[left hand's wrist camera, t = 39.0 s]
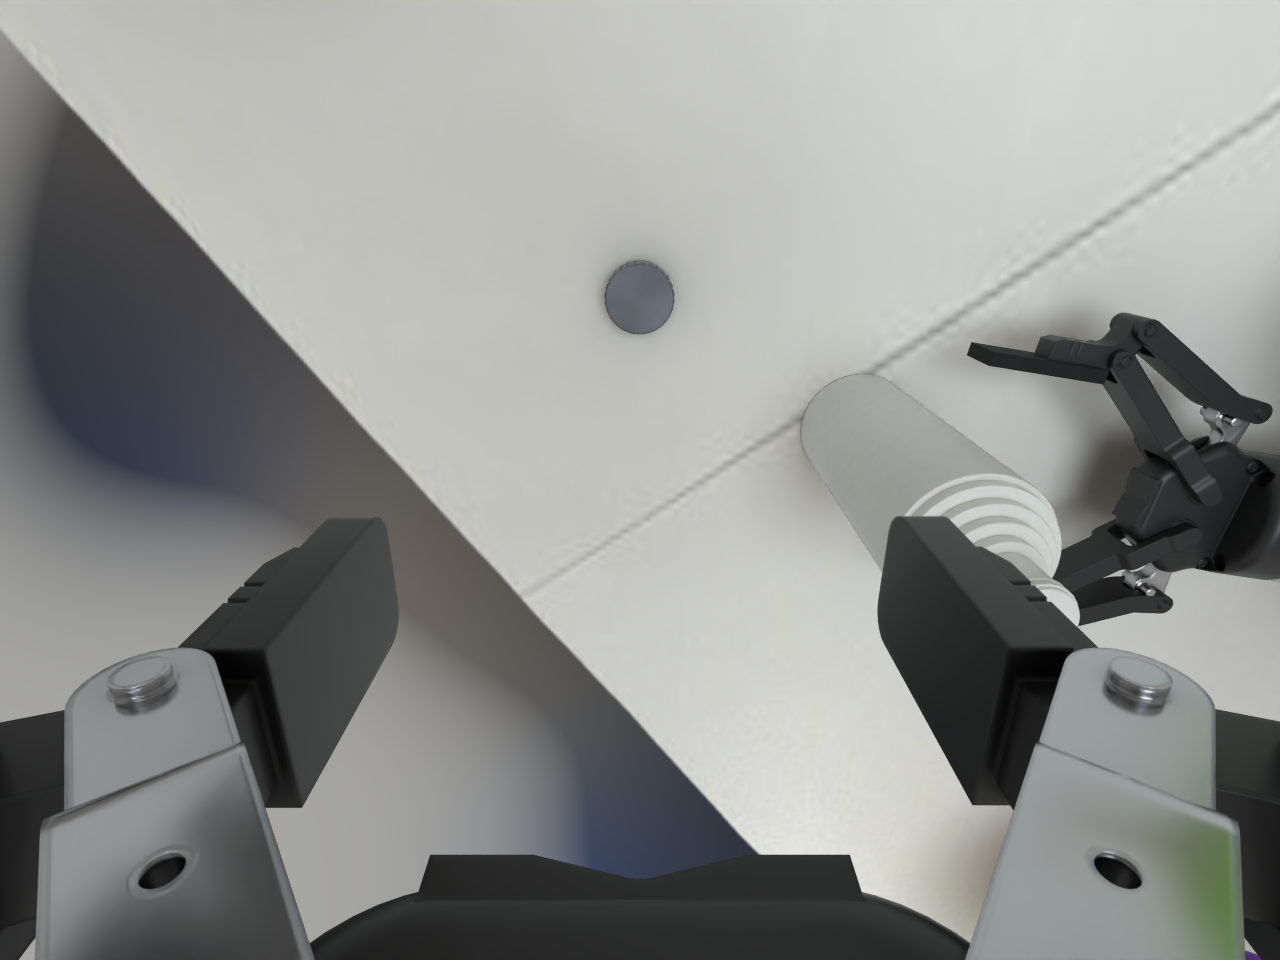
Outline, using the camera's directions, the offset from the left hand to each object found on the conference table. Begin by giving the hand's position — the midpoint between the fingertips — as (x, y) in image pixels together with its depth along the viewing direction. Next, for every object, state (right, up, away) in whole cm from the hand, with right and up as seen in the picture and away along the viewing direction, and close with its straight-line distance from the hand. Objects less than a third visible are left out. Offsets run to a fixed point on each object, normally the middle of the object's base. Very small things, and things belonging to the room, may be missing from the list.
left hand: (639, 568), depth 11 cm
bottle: (+14, +5, +35) cm, 39 cm away
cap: (0, +12, +30) cm, 33 cm away
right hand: (+18, +2, +30) cm, 35 cm away
